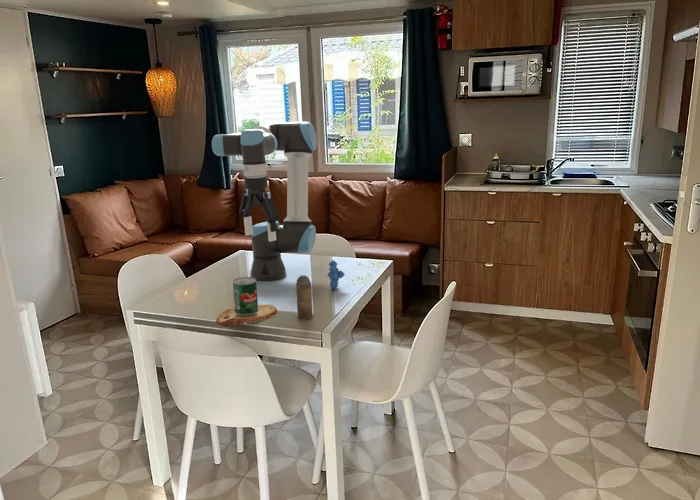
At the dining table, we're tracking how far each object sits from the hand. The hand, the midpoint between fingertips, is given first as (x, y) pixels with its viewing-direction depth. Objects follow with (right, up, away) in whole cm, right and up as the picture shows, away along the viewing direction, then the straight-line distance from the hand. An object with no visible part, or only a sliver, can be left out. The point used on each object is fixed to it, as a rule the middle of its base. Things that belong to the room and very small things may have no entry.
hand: (260, 237), depth 193 cm
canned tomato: (-4, -25, -3) cm, 26 cm away
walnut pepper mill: (+16, -27, -3) cm, 31 cm away
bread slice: (-4, -28, -1) cm, 28 cm away
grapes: (+26, -20, +25) cm, 41 cm away
